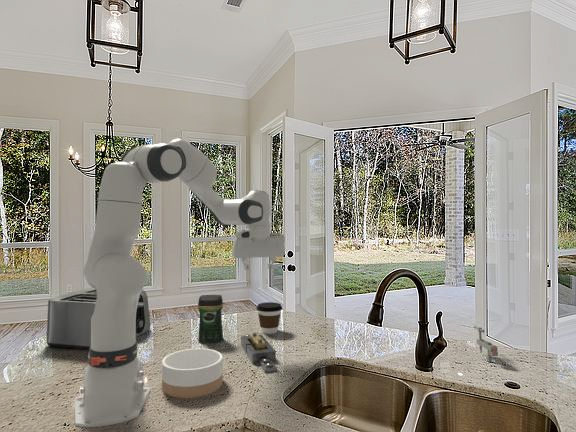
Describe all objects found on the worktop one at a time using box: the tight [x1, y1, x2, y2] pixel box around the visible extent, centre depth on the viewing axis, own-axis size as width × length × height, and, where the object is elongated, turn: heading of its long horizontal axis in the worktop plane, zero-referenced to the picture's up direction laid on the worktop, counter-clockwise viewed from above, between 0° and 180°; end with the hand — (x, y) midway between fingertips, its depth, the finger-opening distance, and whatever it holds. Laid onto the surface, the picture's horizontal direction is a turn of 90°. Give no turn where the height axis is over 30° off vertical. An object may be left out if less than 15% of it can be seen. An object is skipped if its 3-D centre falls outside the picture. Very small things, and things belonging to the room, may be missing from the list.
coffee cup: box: [256, 301, 283, 335], centre depth 163 cm, size 11×11×12 cm
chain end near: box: [246, 342, 278, 374], centre depth 129 cm, size 17×8×4 cm, turn 19°
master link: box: [250, 331, 265, 350], centre depth 138 cm, size 11×3×6 cm, turn 19°
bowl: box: [161, 347, 224, 399], centre depth 112 cm, size 17×17×8 cm
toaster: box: [46, 287, 151, 351], centre depth 153 cm, size 29×32×19 cm
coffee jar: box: [197, 294, 224, 344], centre depth 152 cm, size 10×8×19 cm
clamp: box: [473, 325, 499, 363], centre depth 136 cm, size 15×2×10 cm, turn 177°
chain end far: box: [240, 333, 269, 354], centre depth 147 cm, size 17×8×4 cm, turn 19°
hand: (258, 269), depth 148 cm, fingers open, 8 cm apart
